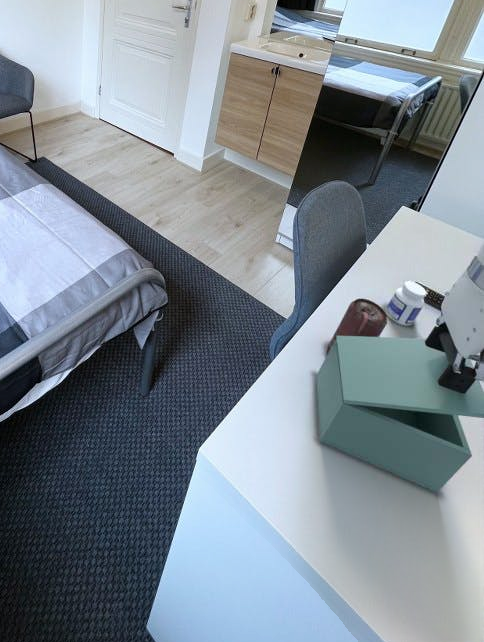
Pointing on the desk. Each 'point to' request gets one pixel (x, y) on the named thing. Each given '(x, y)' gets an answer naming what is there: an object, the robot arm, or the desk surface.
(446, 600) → the desk surface
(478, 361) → the robot arm
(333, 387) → the teal lidded box
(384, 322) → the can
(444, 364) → the lid
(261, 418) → the desk surface
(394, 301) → the pill bottle
